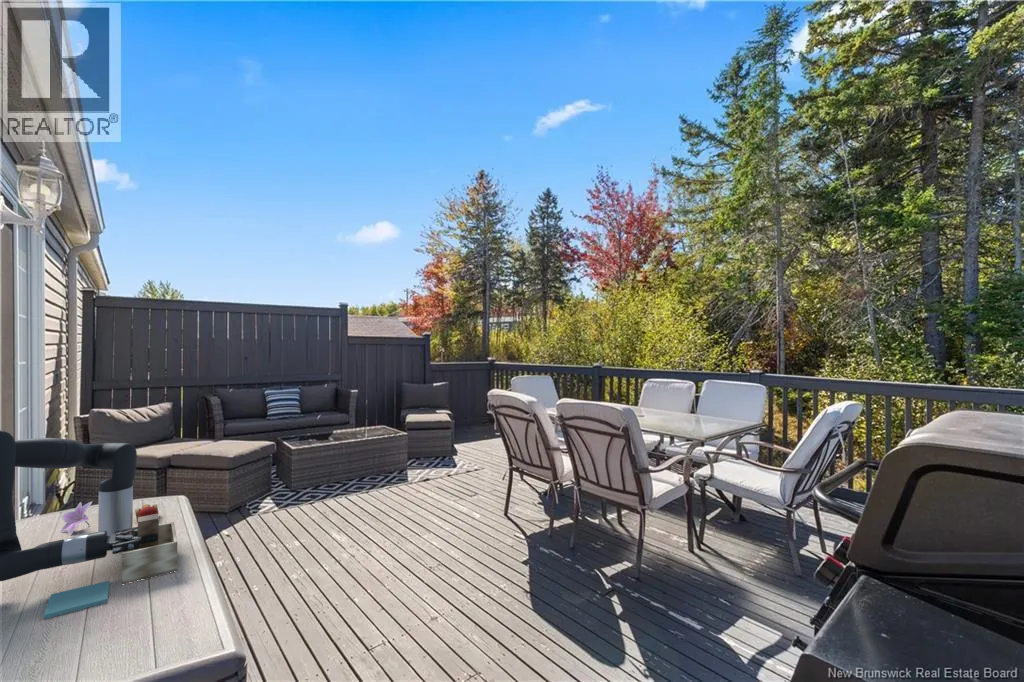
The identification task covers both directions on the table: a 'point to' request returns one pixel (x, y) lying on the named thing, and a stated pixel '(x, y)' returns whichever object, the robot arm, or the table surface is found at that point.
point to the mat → (77, 599)
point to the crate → (152, 557)
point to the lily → (75, 517)
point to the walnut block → (148, 528)
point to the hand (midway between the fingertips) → (157, 533)
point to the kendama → (146, 510)
